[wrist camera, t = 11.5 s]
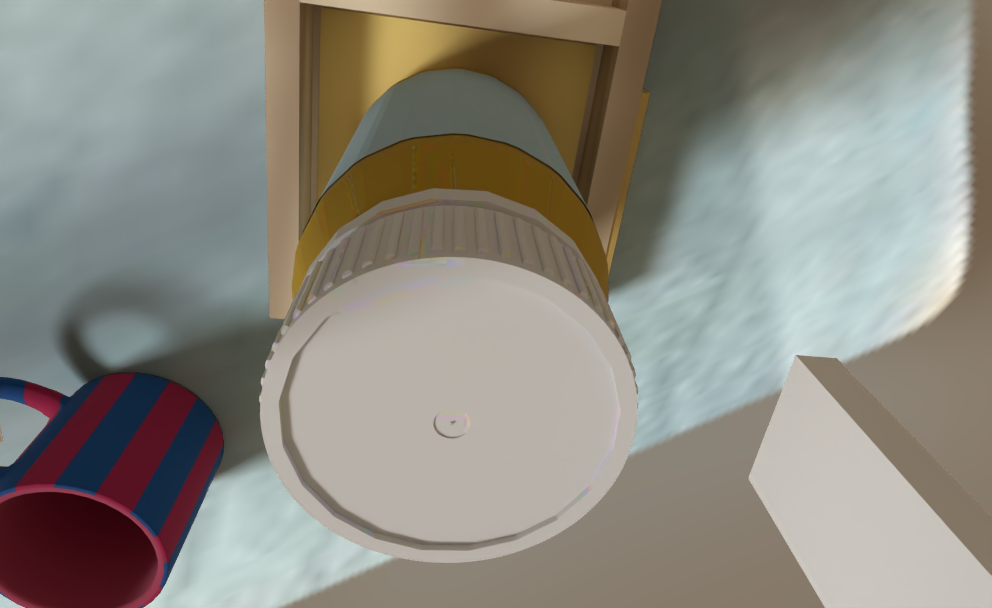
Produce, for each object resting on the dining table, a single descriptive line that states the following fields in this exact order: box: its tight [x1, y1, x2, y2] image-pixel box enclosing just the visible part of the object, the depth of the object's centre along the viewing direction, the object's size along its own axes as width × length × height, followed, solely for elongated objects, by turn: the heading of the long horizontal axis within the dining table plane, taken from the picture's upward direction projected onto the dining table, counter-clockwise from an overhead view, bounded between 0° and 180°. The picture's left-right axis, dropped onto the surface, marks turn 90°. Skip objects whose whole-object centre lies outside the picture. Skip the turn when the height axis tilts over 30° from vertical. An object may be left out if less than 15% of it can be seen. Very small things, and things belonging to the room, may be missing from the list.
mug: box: [0, 373, 224, 608], centre depth 26 cm, size 7×10×7 cm
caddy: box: [264, 0, 662, 319], centre depth 21 cm, size 12×22×3 cm, turn 172°
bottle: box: [259, 67, 638, 563], centre depth 18 cm, size 7×7×15 cm
